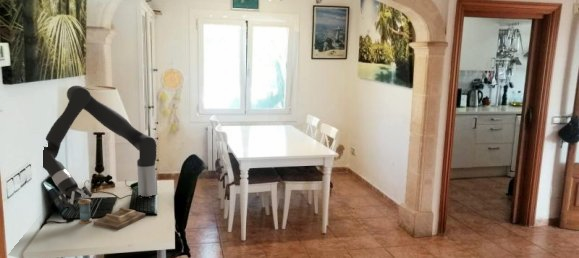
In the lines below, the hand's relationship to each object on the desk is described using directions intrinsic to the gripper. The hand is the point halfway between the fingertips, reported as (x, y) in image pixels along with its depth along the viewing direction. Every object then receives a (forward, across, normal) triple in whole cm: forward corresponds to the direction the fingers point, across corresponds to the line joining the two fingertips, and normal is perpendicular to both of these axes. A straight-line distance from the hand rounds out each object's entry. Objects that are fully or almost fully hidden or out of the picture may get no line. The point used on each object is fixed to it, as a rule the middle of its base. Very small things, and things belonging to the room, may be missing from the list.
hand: (84, 209), depth 207 cm
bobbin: (+4, 0, +4) cm, 6 cm away
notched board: (+14, +8, -5) cm, 17 cm away
